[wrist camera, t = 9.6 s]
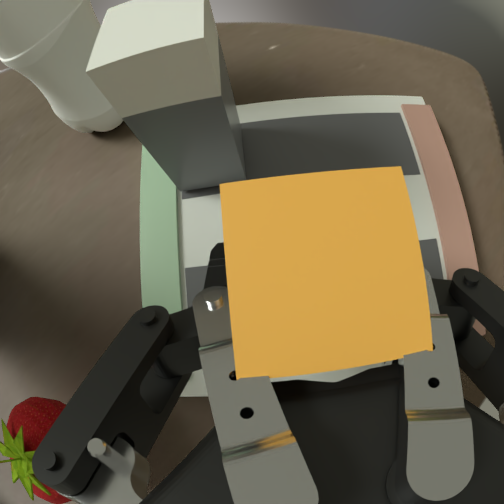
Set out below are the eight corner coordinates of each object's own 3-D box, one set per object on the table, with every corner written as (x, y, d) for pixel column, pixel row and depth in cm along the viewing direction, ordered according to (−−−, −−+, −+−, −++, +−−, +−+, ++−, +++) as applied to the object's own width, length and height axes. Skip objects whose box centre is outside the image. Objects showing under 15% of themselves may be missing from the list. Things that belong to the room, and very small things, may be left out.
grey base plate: (165, 389, 19) (18, 462, 6) (155, 137, 22) (67, 9, 9) (468, 347, 17) (622, 358, 4) (416, 111, 21) (479, -18, 8)
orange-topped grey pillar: (267, 340, 17) (236, 381, 6) (259, 266, 17) (219, 184, 7) (341, 331, 16) (433, 351, 5) (332, 257, 17) (400, 166, 6)
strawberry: (64, 459, 18) (-19, 499, 8) (59, 376, 19) (-42, 391, 10) (126, 483, 17) (51, 547, 8) (123, 395, 19) (24, 434, 9)
